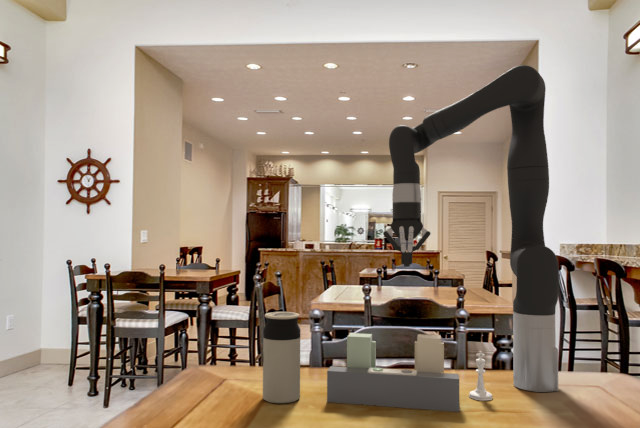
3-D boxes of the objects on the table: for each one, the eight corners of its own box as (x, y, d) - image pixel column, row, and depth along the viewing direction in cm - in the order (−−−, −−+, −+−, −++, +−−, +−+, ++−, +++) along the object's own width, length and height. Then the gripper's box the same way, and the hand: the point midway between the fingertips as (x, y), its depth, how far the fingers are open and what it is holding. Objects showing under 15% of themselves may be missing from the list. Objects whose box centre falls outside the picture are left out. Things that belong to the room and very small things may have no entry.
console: (456, 394, 118) (456, 362, 118) (459, 411, 106) (459, 376, 107) (337, 385, 124) (337, 355, 124) (327, 401, 112) (327, 368, 112)
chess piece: (493, 401, 113) (493, 354, 113) (469, 399, 114) (469, 352, 114) (491, 394, 118) (491, 349, 118) (468, 393, 119) (468, 348, 119)
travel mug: (306, 396, 116) (306, 313, 117) (288, 406, 109) (289, 318, 109) (274, 391, 119) (275, 310, 120) (255, 401, 112) (256, 315, 113)
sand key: (443, 383, 119) (443, 334, 119) (444, 390, 114) (444, 338, 114) (414, 382, 120) (414, 333, 121) (413, 388, 115) (414, 337, 116)
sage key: (375, 382, 120) (375, 333, 120) (373, 389, 115) (373, 337, 115) (347, 380, 121) (347, 331, 121) (343, 387, 116) (344, 336, 116)
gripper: (380, 200, 140) (380, 267, 139) (431, 200, 137) (432, 267, 136) (383, 202, 147) (383, 265, 146) (432, 201, 144) (432, 266, 143)
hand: (407, 266), depth 141 cm, fingers closed
